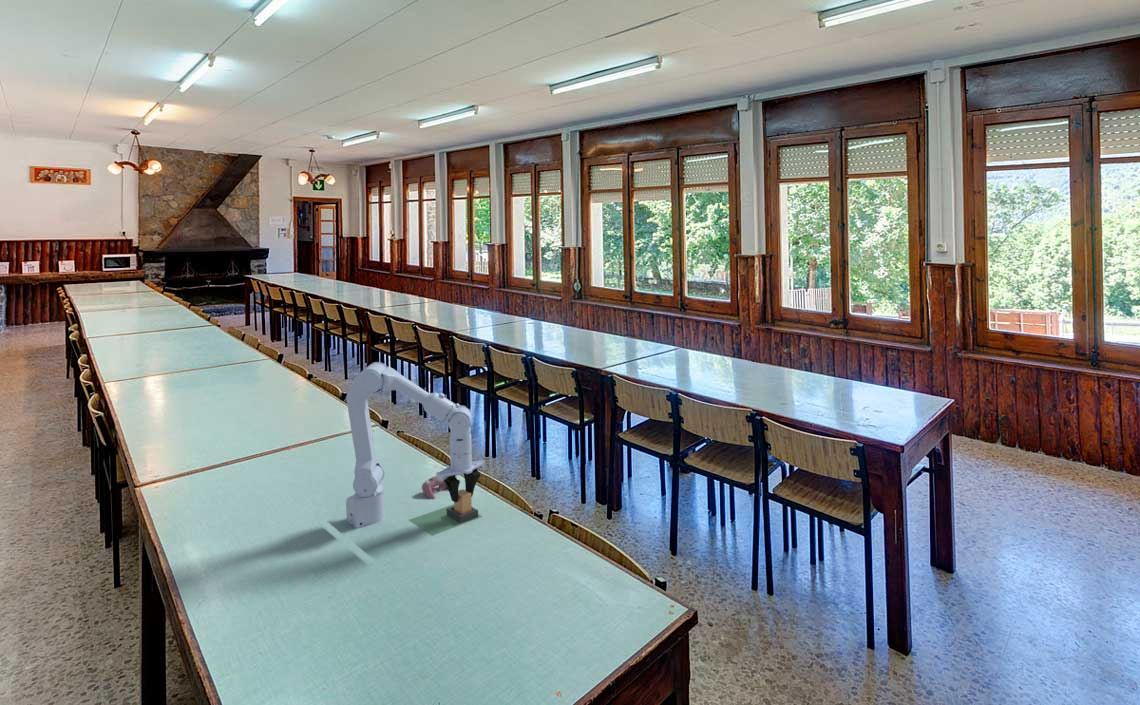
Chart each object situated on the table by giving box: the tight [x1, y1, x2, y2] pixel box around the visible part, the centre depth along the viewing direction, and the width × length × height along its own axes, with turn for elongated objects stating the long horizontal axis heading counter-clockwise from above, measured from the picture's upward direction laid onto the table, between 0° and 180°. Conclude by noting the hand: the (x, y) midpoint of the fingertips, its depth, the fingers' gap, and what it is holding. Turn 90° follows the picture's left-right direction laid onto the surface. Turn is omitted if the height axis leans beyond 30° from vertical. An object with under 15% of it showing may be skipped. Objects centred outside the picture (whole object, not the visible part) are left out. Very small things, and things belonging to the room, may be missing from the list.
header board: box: [409, 503, 483, 536], centre depth 168 cm, size 16×12×3 cm
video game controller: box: [421, 475, 447, 500], centre depth 186 cm, size 10×5×7 cm, turn 141°
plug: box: [453, 488, 473, 515], centre depth 169 cm, size 3×4×7 cm
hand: (462, 498), depth 169 cm, fingers open, 4 cm apart
